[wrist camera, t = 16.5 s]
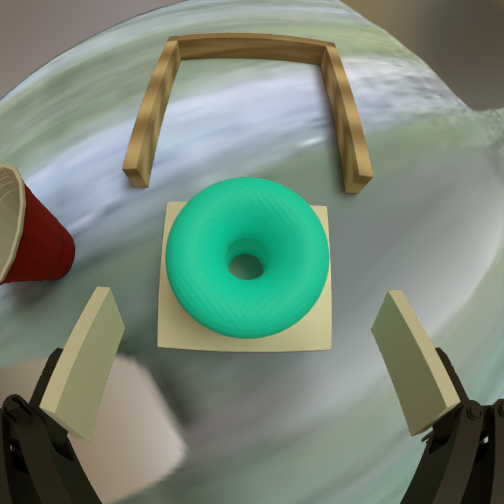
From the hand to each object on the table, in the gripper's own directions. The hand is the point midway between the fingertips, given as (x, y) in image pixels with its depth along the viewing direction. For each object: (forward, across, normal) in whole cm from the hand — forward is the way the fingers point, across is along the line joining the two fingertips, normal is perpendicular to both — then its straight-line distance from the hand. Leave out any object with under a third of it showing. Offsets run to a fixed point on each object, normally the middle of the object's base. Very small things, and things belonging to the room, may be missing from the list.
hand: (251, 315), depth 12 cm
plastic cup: (+13, -21, -6) cm, 25 cm away
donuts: (+11, 0, -6) cm, 13 cm away
